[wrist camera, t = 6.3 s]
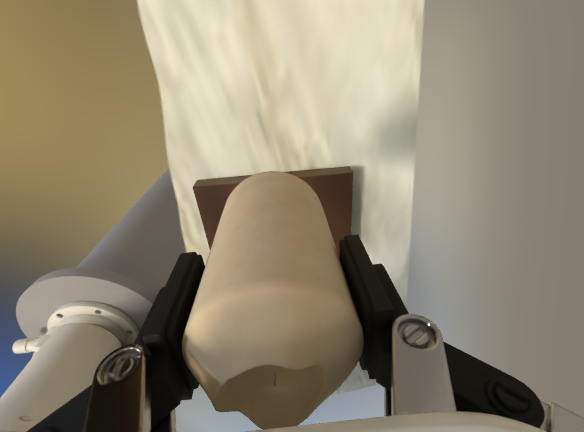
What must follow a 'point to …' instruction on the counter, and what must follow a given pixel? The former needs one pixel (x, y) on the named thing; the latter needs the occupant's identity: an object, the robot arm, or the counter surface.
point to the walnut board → (325, 182)
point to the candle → (272, 306)
